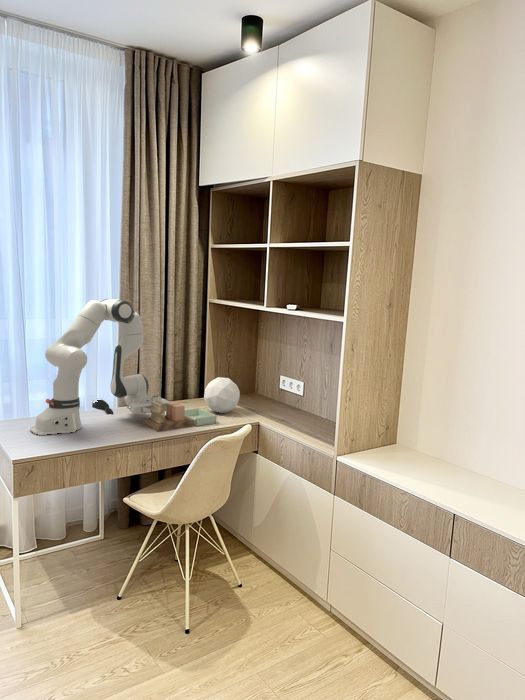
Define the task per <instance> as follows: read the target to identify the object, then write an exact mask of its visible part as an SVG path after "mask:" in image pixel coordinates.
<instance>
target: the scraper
mask: <svg viewBox="0 0 525 700" xmlns="http://www.w3.org/2000/svg"><path fill="white" fill-rule="evenodd" d="M151 409H152V413H150V416H151V417H150V418H151V420H153V421H155V422H157V423H164V422H165V415H166V411H165V404H164V403H161V402H159V401H151Z"/></svg>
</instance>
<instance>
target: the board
mask: <svg viewBox="0 0 525 700" xmlns="http://www.w3.org/2000/svg"><path fill="white" fill-rule="evenodd" d="M142 422H143V423H142V424H143V425H144V426H146V427H147V428H150V429H151V430H153V431H155V432H165V431H168V430H169V431H170V430H176V429H182V428H187V427H195V426H194V420H193V419H191V418H189V417H186V416H184V420H179V421H174V420H172V419H170V418H168V417H166V414H165V422H164V423H157V422H155V421H153V420H151V417H145V418H144V417H143V421H142Z"/></svg>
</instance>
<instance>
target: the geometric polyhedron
mask: <svg viewBox="0 0 525 700" xmlns="http://www.w3.org/2000/svg"><path fill="white" fill-rule="evenodd" d="M240 393H241V392H240V389H239V387H238V385H237V384H236V383H235V382H234V381H233V380H232V379H230V378H228V377H221V376H219V377H216V378H214V379H212V380H211V381H210V382H208V383H207V385H206V387H205V389H204V396H203V400H204V402H205V403H206V405H207V407H208V408H209V409H210V410H212V411H213V412H214V413H218V412H219V414H227V413H229V412H230V411H232V410H234V409H235V408H236V407H237V404H238V403H239V400H240V396H241V394H240Z"/></svg>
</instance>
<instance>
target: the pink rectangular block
mask: <svg viewBox="0 0 525 700" xmlns="http://www.w3.org/2000/svg"><path fill="white" fill-rule="evenodd" d="M177 404H180V403H179V402H176V401H173V402H172V401H170V403H166V407H167V410H166V411H165V415H166V417H168V418H170V419H171V405H177Z"/></svg>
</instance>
